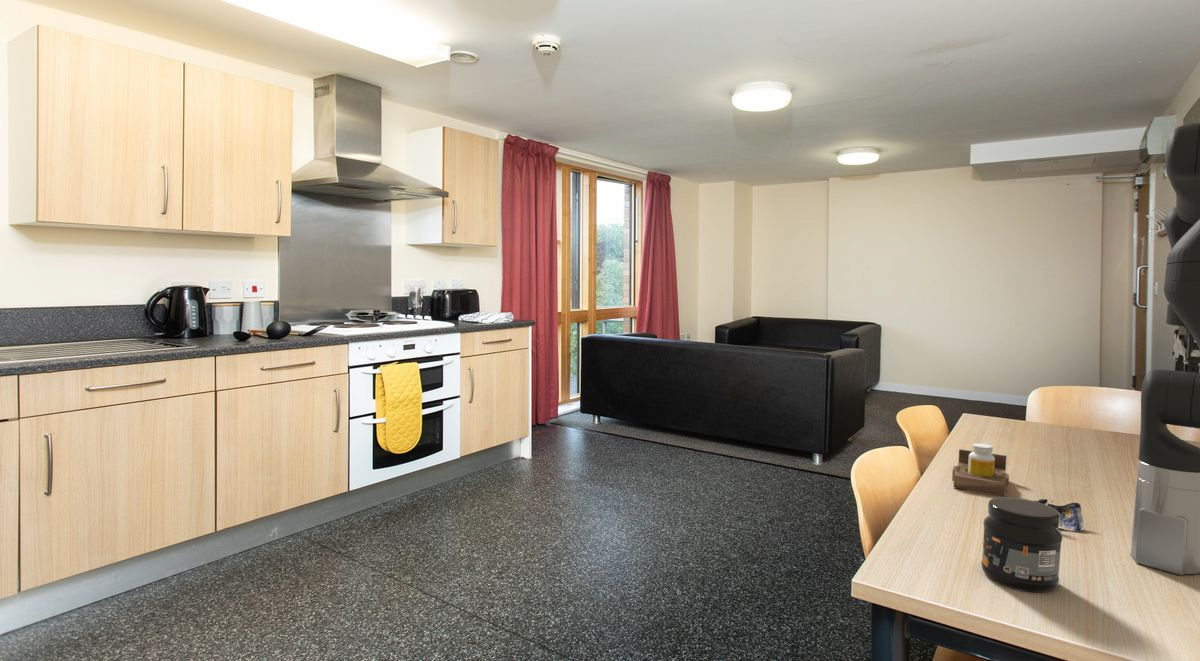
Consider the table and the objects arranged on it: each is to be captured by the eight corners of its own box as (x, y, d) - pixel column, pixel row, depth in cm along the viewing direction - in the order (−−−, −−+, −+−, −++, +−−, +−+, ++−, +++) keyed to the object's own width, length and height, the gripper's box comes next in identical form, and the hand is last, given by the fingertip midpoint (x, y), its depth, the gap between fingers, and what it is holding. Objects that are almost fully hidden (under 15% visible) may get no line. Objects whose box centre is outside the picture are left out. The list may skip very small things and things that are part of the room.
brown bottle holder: (1007, 497, 141) (1009, 471, 141) (950, 487, 148) (951, 462, 147) (1008, 480, 154) (1009, 456, 154) (955, 471, 160) (956, 448, 160)
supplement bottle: (962, 480, 153) (965, 442, 152) (986, 481, 152) (988, 442, 152) (973, 488, 148) (976, 447, 147) (997, 489, 147) (1000, 448, 146)
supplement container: (989, 558, 109) (993, 491, 108) (1063, 579, 102) (1069, 506, 101) (973, 578, 102) (977, 506, 101) (1052, 602, 95) (1058, 524, 94)
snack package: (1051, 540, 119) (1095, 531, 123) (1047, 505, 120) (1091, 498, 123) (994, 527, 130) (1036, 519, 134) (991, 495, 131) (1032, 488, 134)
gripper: (1227, 304, 122) (1219, 387, 123) (1208, 302, 134) (1201, 378, 135) (1175, 303, 126) (1168, 383, 127) (1161, 301, 138) (1155, 375, 139)
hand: (1185, 380), depth 131 cm, fingers open, 8 cm apart
